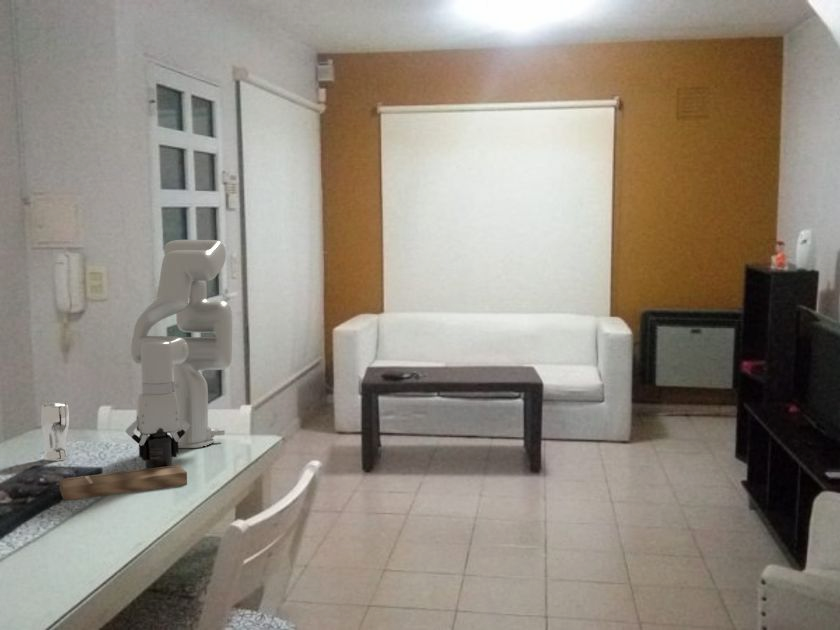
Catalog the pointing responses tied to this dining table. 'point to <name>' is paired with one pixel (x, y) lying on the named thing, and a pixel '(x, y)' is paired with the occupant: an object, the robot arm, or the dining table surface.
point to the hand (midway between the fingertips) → (158, 457)
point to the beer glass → (55, 430)
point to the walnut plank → (122, 482)
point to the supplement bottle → (159, 450)
